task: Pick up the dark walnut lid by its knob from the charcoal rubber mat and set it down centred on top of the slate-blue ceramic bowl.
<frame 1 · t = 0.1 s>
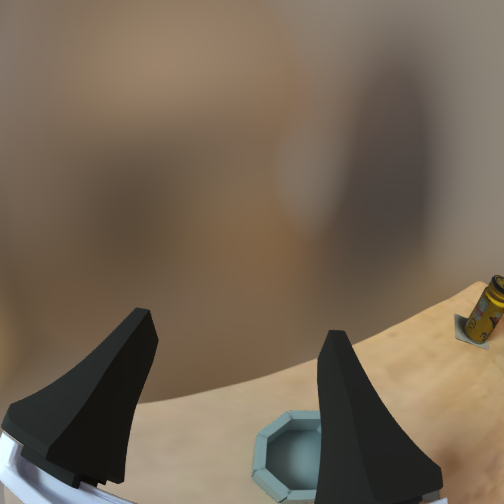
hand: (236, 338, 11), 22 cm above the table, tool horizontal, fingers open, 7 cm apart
bowl: (300, 463, 22), on the table
condiment: (470, 332, 38), on the table
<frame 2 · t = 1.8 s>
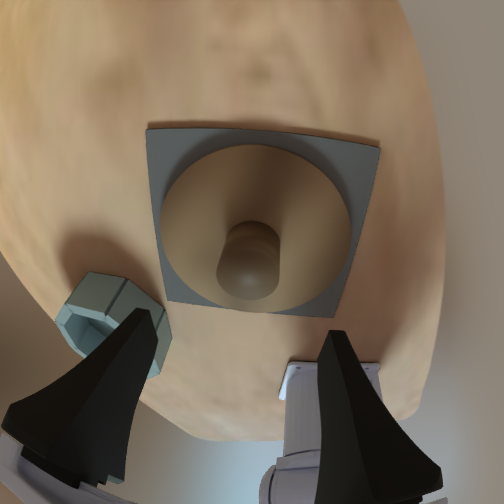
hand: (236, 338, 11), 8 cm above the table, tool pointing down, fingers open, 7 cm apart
lid: (254, 237, 17), resting on mat
mat: (254, 235, 17), on the table
bowl: (120, 315, 24), on the table
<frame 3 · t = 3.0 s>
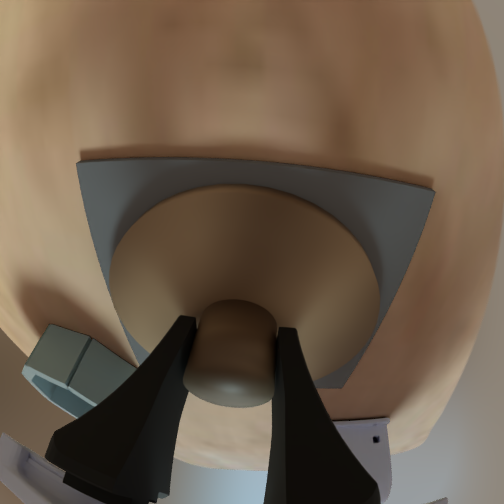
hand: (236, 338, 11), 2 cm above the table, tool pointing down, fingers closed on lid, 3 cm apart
lid: (240, 312, 12), resting on mat, touching gripper
mat: (241, 307, 12), on the table
bowl: (93, 368, 18), on the table
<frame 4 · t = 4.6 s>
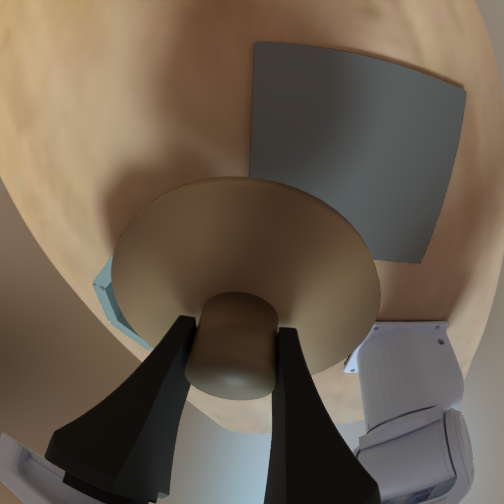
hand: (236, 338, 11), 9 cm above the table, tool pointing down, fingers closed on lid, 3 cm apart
lid: (242, 305, 12), point 7 cm above the table, touching gripper
mat: (360, 163, 15), on the table
bowl: (176, 277, 21), on the table
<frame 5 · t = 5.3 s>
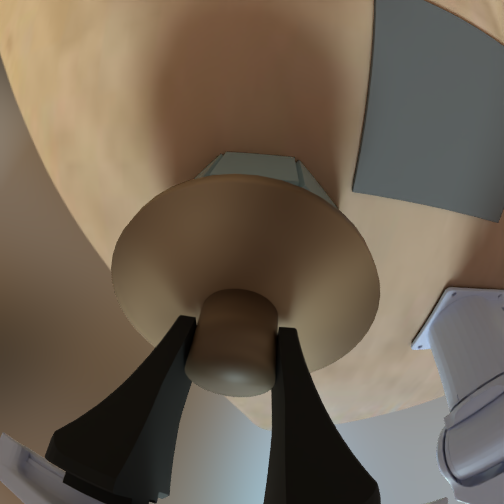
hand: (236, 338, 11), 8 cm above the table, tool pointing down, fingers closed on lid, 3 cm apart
lid: (241, 302, 12), point 7 cm above the table, touching gripper
mat: (461, 113, 11), on the table
bowl: (254, 231, 18), on the table
when the fingers open (6 cm above the table, at t = 6.0 s): lid stays where it is, resting on bowl.
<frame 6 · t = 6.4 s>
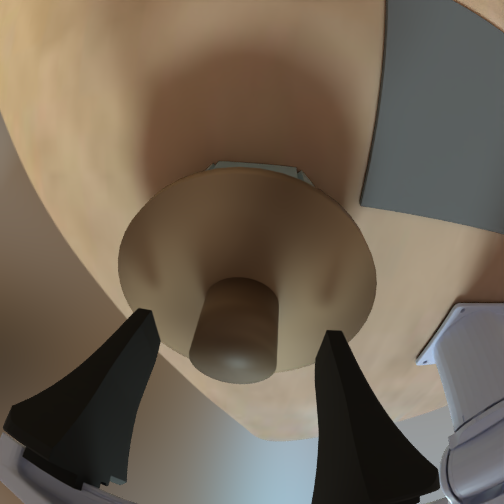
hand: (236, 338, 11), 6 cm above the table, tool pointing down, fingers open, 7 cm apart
lid: (243, 293, 13), point 4 cm above the table, touching bowl
mat: (479, 119, 10), on the table
bowl: (251, 248, 16), on the table, touching lid
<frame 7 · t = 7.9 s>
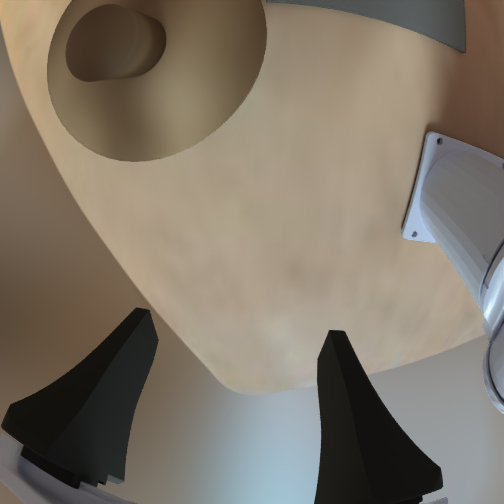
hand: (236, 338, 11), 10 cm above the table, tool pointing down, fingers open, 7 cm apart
lid: (141, 47, 9), point 4 cm above the table, touching bowl
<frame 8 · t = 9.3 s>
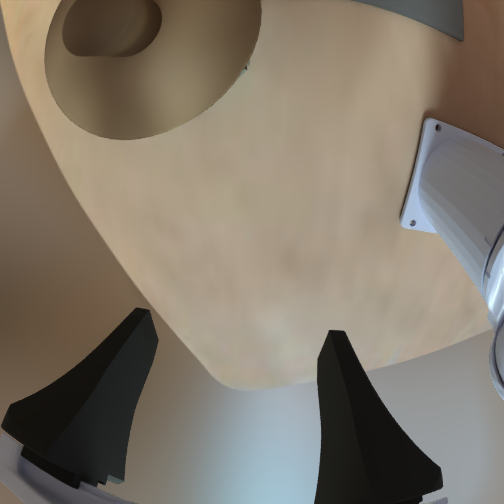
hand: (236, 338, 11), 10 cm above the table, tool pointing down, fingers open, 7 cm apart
lid: (137, 28, 9), point 4 cm above the table, touching bowl
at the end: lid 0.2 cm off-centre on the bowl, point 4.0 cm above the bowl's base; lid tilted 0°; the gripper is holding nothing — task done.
